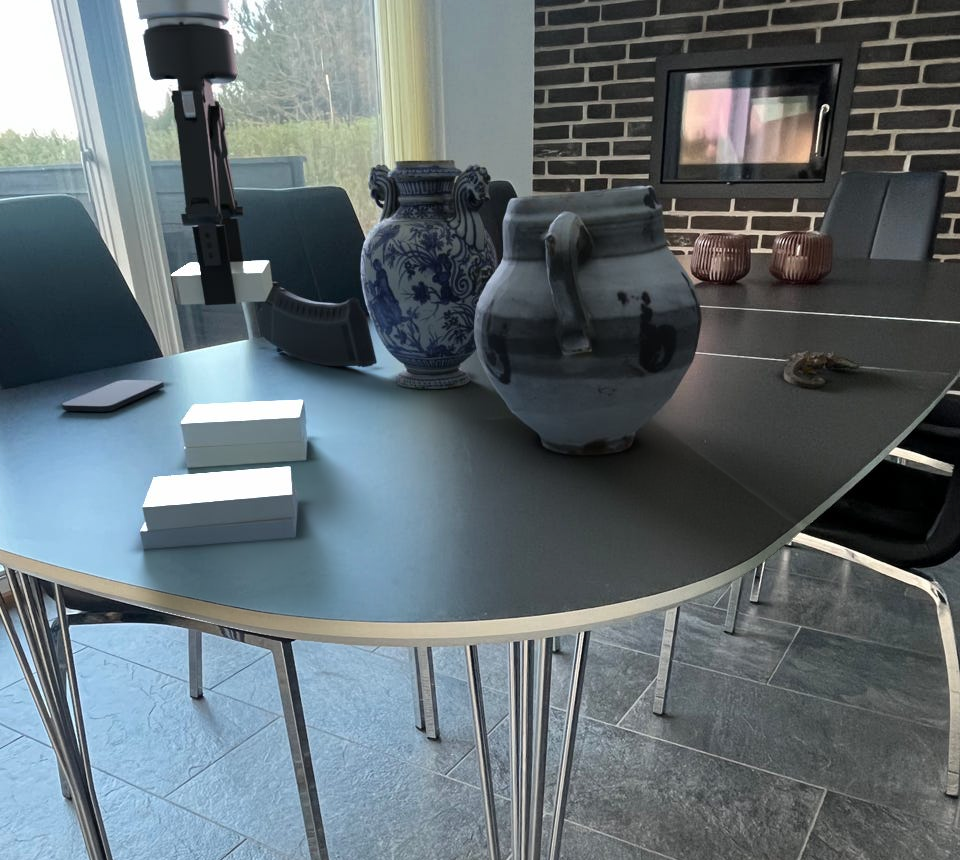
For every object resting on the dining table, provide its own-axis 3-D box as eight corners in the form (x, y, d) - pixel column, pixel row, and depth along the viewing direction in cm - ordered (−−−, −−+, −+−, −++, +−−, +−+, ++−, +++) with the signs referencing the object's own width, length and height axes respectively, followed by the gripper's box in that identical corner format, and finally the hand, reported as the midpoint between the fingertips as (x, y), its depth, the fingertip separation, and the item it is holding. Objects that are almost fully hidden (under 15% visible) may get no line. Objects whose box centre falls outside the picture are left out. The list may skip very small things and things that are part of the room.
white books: (188, 472, 88) (179, 424, 86) (198, 450, 96) (190, 405, 93) (308, 465, 90) (302, 416, 88) (309, 443, 97) (303, 398, 95)
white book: (175, 305, 79) (170, 275, 78) (193, 289, 89) (188, 263, 88) (265, 301, 80) (261, 271, 79) (272, 286, 90) (269, 260, 89)
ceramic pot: (676, 497, 79) (704, 188, 67) (439, 480, 85) (426, 193, 73) (698, 419, 103) (721, 182, 91) (512, 410, 109) (512, 186, 97)
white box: (144, 555, 69) (133, 507, 67) (161, 519, 77) (152, 475, 75) (298, 543, 71) (292, 496, 69) (300, 509, 78) (295, 465, 76)
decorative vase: (531, 379, 125) (534, 157, 111) (446, 404, 112) (437, 158, 99) (423, 363, 137) (413, 161, 124) (335, 384, 124) (314, 162, 111)
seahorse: (754, 379, 121) (757, 357, 120) (814, 362, 131) (817, 341, 129) (814, 390, 115) (818, 366, 114) (872, 371, 125) (877, 349, 123)
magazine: (382, 311, 125) (276, 237, 140) (364, 313, 123) (258, 239, 139) (372, 418, 136) (275, 339, 152) (355, 421, 135) (258, 342, 150)
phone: (57, 405, 113) (119, 379, 125) (58, 411, 113) (121, 385, 126) (108, 406, 111) (166, 380, 124) (110, 412, 112) (167, 386, 125)
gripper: (215, 3, 64) (258, 310, 75) (242, 45, 85) (273, 280, 96) (110, 3, 63) (168, 315, 74) (164, 46, 84) (204, 283, 95)
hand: (227, 296), depth 85 cm, fingers closed on white book, 12 cm apart
